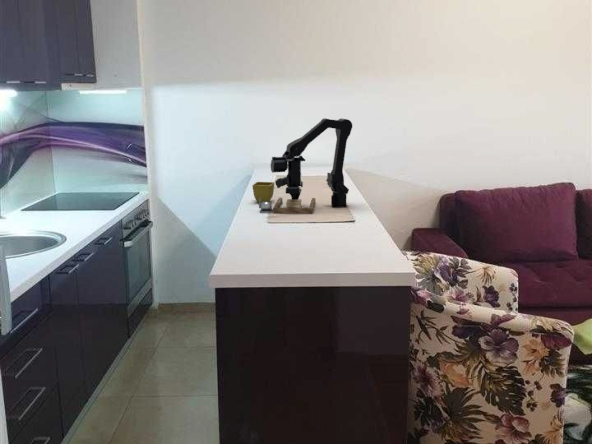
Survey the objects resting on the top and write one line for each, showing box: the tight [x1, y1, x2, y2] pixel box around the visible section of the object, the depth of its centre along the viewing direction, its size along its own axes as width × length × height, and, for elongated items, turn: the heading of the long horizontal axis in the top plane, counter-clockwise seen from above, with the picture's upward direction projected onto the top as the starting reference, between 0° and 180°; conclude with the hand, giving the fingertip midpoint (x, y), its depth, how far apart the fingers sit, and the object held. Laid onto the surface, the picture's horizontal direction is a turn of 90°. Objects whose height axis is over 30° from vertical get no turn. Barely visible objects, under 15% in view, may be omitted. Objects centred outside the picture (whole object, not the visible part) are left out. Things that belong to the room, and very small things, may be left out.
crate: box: [285, 198, 302, 208], centre depth 275 cm, size 6×6×5 cm
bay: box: [272, 197, 316, 215], centre depth 283 cm, size 17×23×2 cm
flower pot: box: [252, 181, 275, 204], centre depth 295 cm, size 9×9×9 cm
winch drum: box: [258, 198, 273, 214], centre depth 275 cm, size 6×5×6 cm
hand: (294, 205), depth 280 cm, fingers closed
